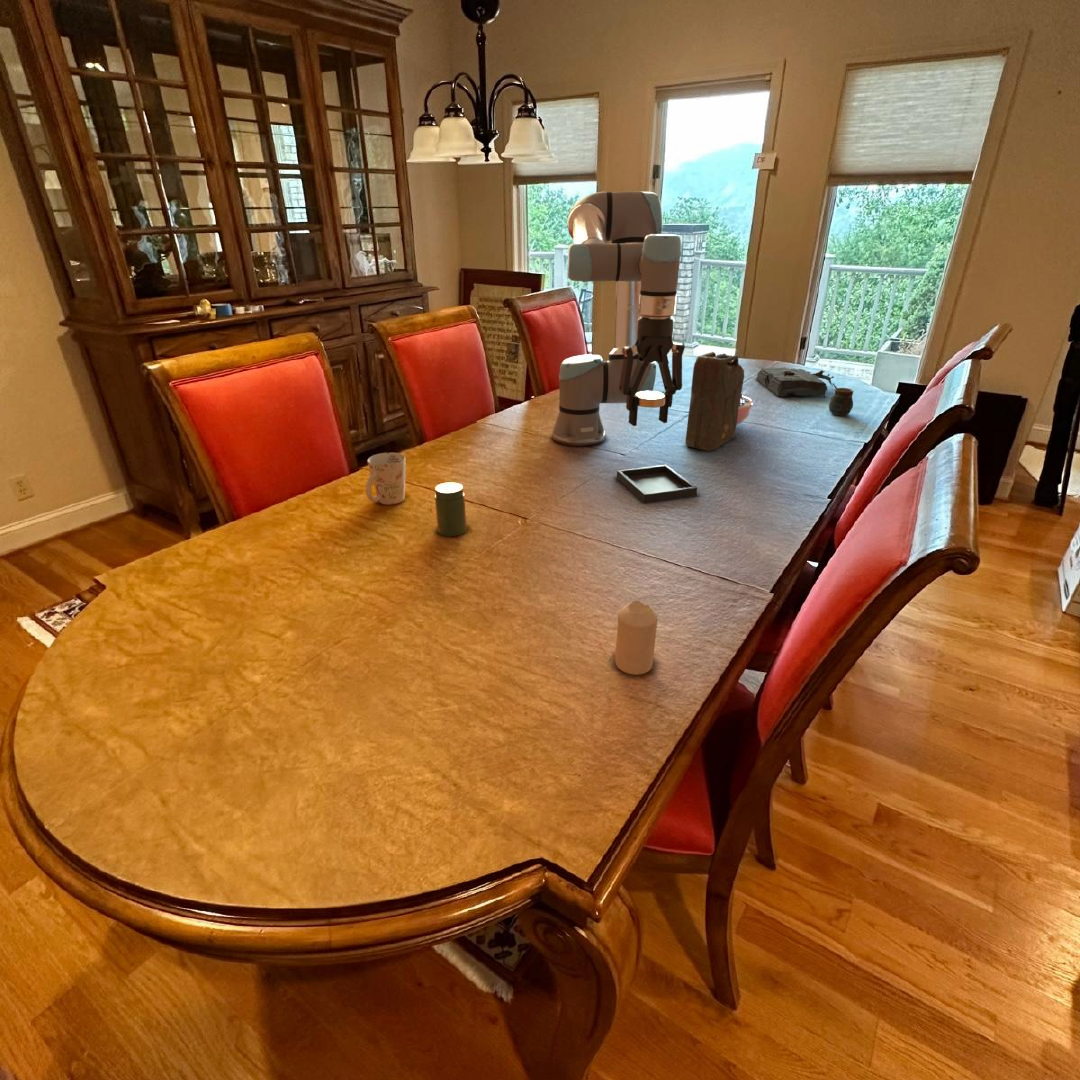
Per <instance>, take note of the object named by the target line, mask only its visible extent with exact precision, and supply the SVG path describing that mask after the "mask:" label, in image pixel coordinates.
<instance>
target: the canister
mask: <svg viewBox="0 0 1080 1080" xmlns="http://www.w3.org/2000/svg"><path fill="white" fill-rule="evenodd" d="M691 379H692V380H691V387H690V388H691V389H690V401H689V406H688V407H689V410H688V417H687V425H686V426H687V427H686V434H685V445H686V447H689V448H692V449H698V450H702V451H706V452H707V451H708V452H712V451H714V450H716V449H718V448H719V447H721V445H723V444H724V443H727V442H729V441H730V440H732V439H733V438H734V437H735V436H736V432H737V431H736V430H737V426H738V425H737V418H738V407H739V403H740V398H741V394H742V392H743V386H744V380H745V370H744V369H743V366H742V365H740V364H739V356H738V355H737V354H735V355H730V354H729V355H728V354H727V353H720V354H717V355H716V352H714V351H710V352H708V353H705V354H702V355H698V356H697V357H696V359H695V362H694V364H693V370H692V378H691Z"/></svg>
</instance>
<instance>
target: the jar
mask: <svg viewBox="0 0 1080 1080" xmlns="http://www.w3.org/2000/svg"><path fill="white" fill-rule="evenodd" d="M434 493H435V494H434V504H435V514H436V524H437V525H436V526H437V533H438V534H439V535H441V536H444V537H457V536H461V535H464V534H465V533H466V532H467V527H468V526H467V514H466V511H467V510H466V497H465V492H464V486H463V485H462V484H461V483H458V482H453V481H452V482H451V481H449V482H443V483H440V484H437V485H436V486H435V487H434Z"/></svg>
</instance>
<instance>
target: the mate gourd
mask: <svg viewBox="0 0 1080 1080" xmlns="http://www.w3.org/2000/svg"><path fill="white" fill-rule="evenodd" d="M831 383H832V385H833V387H834V388H835V389H834V392H833V395H832V396H831V397H830V399H829V401H828V402H829V403H828V410H829V412H830V413H831V414H832V415H834V416H840V417H845V416H848V414H850V413H851V411H852V410H853V407H854V399H853V395H854V390H853V389H852V388H848V387H837V386H836V385H835V383H834V382H831Z"/></svg>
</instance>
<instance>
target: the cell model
mask: <svg viewBox="0 0 1080 1080" xmlns="http://www.w3.org/2000/svg"><path fill="white" fill-rule="evenodd" d="M753 406H754V403H753V401H752V399H751V398H749V397H748V396H744V395H743V393H741V398H740V403H739V407H738V418H737V425H736V426H738V425H740V424H742V423H743V422H744V421H746V420H747V418H748V417H749V415H750V411H751V408H752V407H753Z"/></svg>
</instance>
